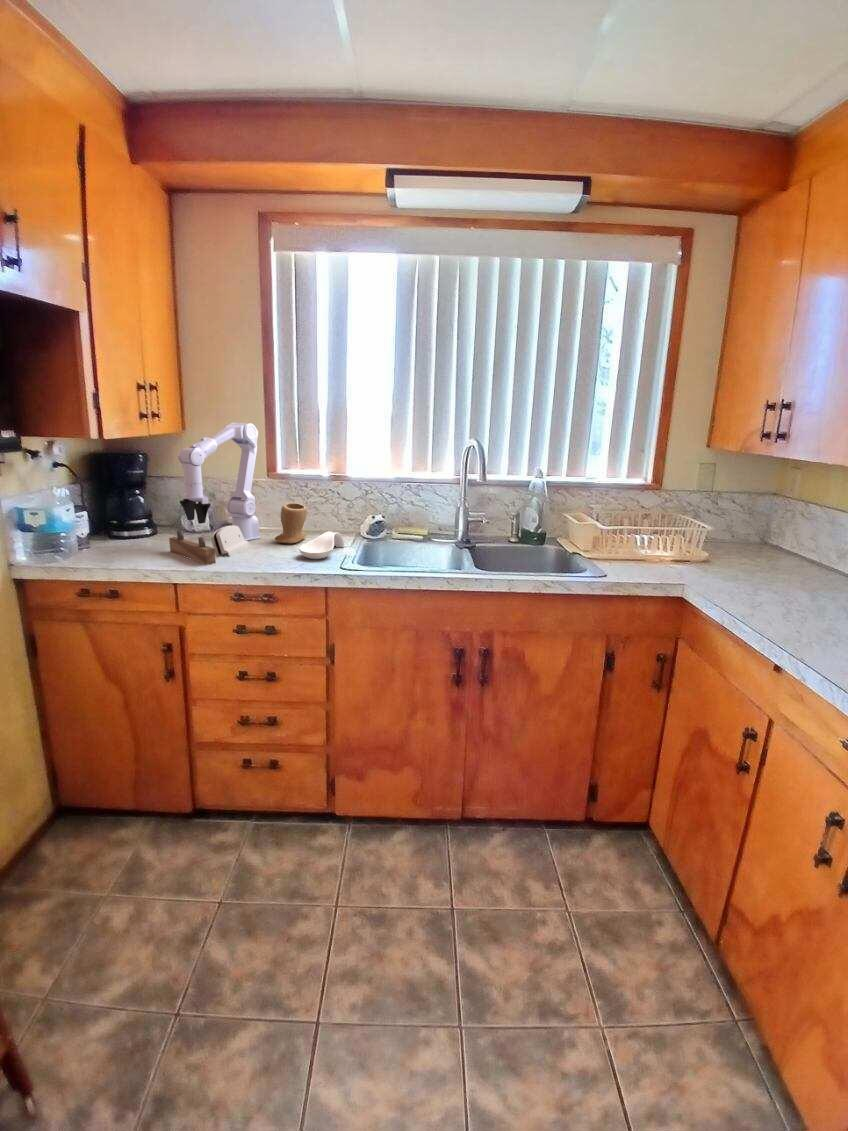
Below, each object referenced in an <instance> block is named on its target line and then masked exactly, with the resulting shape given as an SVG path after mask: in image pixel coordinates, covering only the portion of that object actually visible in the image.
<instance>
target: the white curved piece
mask: <svg viewBox="0 0 848 1131" xmlns="http://www.w3.org/2000/svg"><path fill="white" fill-rule="evenodd" d="M210 541H211V544H212V548H215V556H216V555H218V556H222V555H225V554H227V556H228V557H229V556H230V557H233V556H234V555H236V554H239V553H241V552H242V551H245V550H246V549H248V548H250V547H251V545H250V542H249V540H246V541H245V539H244V537H243V535H242V532H241V530H240V528H239V527H238V526H233V525H225V526H222V527H220V528H218V529H217V530H215V531H214V532H213V533H212V534H211V536H210ZM218 556H217V557H218Z"/></svg>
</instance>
